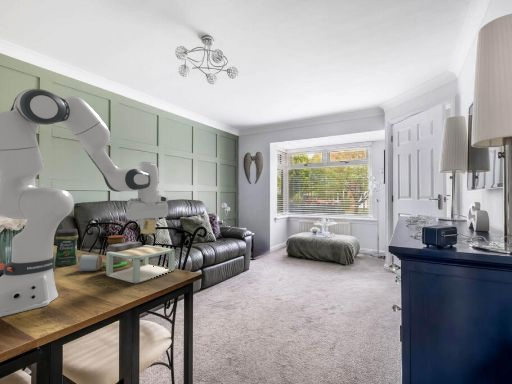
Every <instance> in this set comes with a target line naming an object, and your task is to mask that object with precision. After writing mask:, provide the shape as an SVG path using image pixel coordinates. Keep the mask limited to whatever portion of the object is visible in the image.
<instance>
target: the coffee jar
mask: <svg viewBox="0 0 512 384" xmlns="http://www.w3.org/2000/svg"><path fill="white" fill-rule="evenodd" d="M78 239H79V233H78V229H77V228H62V229H58V230H57V229H56V232H55V240H56V254H55V257H54V259H55V267H65V266H72V265H76V264H78V263H79V262H78V249H77V247H78V246H77V244H78V243H77V240H78Z"/></svg>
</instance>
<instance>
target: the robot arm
mask: <svg viewBox="0 0 512 384" xmlns="http://www.w3.org/2000/svg"><path fill="white" fill-rule="evenodd" d="M57 123H62V124H63V125H65V126H66V127H67V128H68V129H69V131H70V132H71V133H72V134H73V136H75V138H76V139H77V140H78V142H79V143H80V144H81V145H82V147H83V149H84V150H85V152H86V154H87V156H88V157H89V159H90V160H91V161H92V163H93V164H94V165H95V167H96V168H97V170H98V171H99V172H100V174H101V175H102V177H103V179H104V182H105V185H106V186H107V188H108V189H109V190H111V191H113V192H116V193H117V192H118V193H119V192H133V191H137V197H136V198H129V199H128V200H127V202H126V211H125V219H126V220H129V221H135V220H136V221H137V222H138V225H139V228H140V230H141V229H145V225H144V224H143V221H144V220H146V219H151V220H155V228H156V225H157V223H158V220H159V218H167V217H168V215H169V205H168V197H167V196H164V195H162V194H159V192H160V191H159V188H158V187H159V181H160V180H159V179H160V178H159V176H160V175H159V168H158V166H157V164H155V163H152V162H150V161H149V162H148V161H142V162H139V164H137V165H135V166H133V167H129V168H119V167H118V166H116V164H115V163H114V161H113V160H112V159H111V158H110V156H109V155H108V153H107V151H106V146H107V145H108V144H109V143H110V141H111V131H110V130H109V128H108V126H107V124H106V123H105V122H104V120H103V119H102V117H100V115H99V114H98V113H97V111H96V110H94V109H93V107H92V106H90V105H89V103H88V102H86V100H84V99H83V98H82V97H79V96H67V97H65V98H62V97H60V96H58V95H56V94H55V93H53V92H51V91H48V90H46V89H41V88H28V89H25V90H23V91H21V92H19V94H17V96H16V97H15V98H14V101H13V103H12V106H11V108H10V110H9V111H7V110H6V111H0V217H4V218H8V219H11V220H12V219H13V220H26V222H25V224H24V228H23V229H22V230H21V231H20V232H17V234H15V235H14V236H13V238H12V239H11V260H10V262H8V263H7V264H6V263H0V271H3V274H2V275H1V276H0V318H2V317H5V316H10V315H15V314H18V313H22V312H26V311H30V310H34V309H39V308H41V307H42V308H43V307H47V306H49V305H50V303H51V302H52V301H54V300H56V299H57V298H59V293H58V291H57V287H56V281H55V274H54V272H55V268H56V265H55V256H54V244H55V243H54V242H55V236H56V233H57V229H58V227H59V225H60V223H61V222H62V221H63V220H64V219H65V218H66V217H67V216H69V215H70V214H71V213H72V211H73V209H74V206H75V201H74V200H75V199H74V197H73V195H72V193H70V192H69V191H68V190H64V189H61V188H56V187H37V186H36V178H37V176H39V175H40V174H41V173H42V172H43V171H44V168H45V164H44V160H43V157H42V153H41V150H40V145H39V143H38V139H37V133H36V131H37V128H38V127H39V126H40V125H54V124H57Z"/></svg>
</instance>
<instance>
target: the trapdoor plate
mask: <svg viewBox="0 0 512 384" xmlns="http://www.w3.org/2000/svg"><path fill="white" fill-rule="evenodd" d="M107 247H108V252H116V253H121V254H126V255H132V256H142V255H146V254H151V253H155V252H160V251H164V250H165V249H159V248H152V247H146V246H143V245H142V242H141V241H135V240H134V241H132V240H131V241H128V242H123V243H119V244H108V245H107ZM113 257H114V258H116V256H113Z"/></svg>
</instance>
